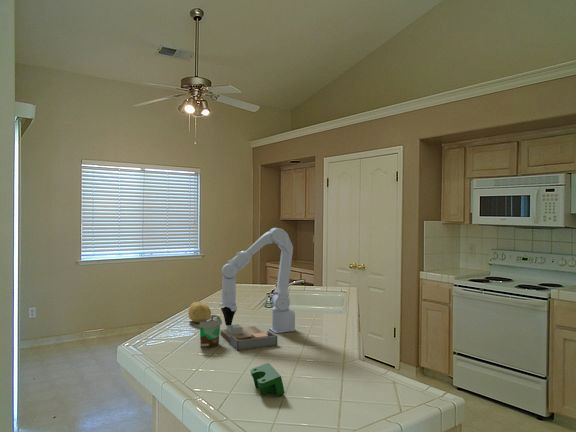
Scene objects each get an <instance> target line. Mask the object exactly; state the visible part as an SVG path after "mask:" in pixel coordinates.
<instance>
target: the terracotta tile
mask: <svg viewBox="0 0 576 432" xmlns="http://www.w3.org/2000/svg"><path fill="white" fill-rule="evenodd" d="M266 334H267V333H266ZM266 334H265V332H264V333H255V334H251V339H254V338H262V337H268V335H266Z"/></svg>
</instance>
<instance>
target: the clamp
mask: <svg viewBox="0 0 576 432" xmlns="http://www.w3.org/2000/svg"><path fill="white" fill-rule="evenodd" d="M250 375H251V377H252V379H253V383H254V384H253V385H254V388H255V389H256V388H257V389H258V390H259V393H260V395H259V396H261V395H263V396H265V395H267V394H269V393H274V394H275V396H277V397H280V396H283V395H285V393H286V392H285V387H284V384H283V379H282V376H281V374H280V373H279V372H278V371H277V370H276V369H275V368H274V367H273V366H272V364H270V362H265V363H263V364H260V365H259V366H256V367H253V368H251V369H250Z"/></svg>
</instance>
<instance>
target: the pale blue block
mask: <svg viewBox="0 0 576 432" xmlns="http://www.w3.org/2000/svg"><path fill="white" fill-rule="evenodd" d="M242 327H243V326H241V325H240V324H237V323H236V324H231V325H226V329H227V332H228V333H229V334H230V335H233V334H241V333H242Z"/></svg>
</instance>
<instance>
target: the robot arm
mask: <svg viewBox="0 0 576 432" xmlns="http://www.w3.org/2000/svg"><path fill="white" fill-rule="evenodd" d="M273 243H274V244H275V245H277V246H278V248H279V249H280V251H281V252H280V258H279V259H280V260H279V266H278V274H277V283H276V287H275V291H274V294H273V295H272V297H271V303H272V305H273V307H272V309H271V311H272V312H271V313H272V314H271V316H272V318H271V327H268V330H269V331H270V332H272V333H274V334H282V333H288V332H296V313H295V311H294V309H293V308H290V306H291V302H290V298H289V297H290V292H289V291H290V290H289V284H290V278H291V277H290V276H291V268H292V261H293V255H294V254H293V252H294V246H293V244H292V241H291V238H290V237H289V233H288V232H286V231H285V230H284V229H283V228H281V227H272V228H271V229H269V231H266V232H265V233H264V234H263V235H261V236H260V237H259V238H258V239H257V240H256V241H255V242H254V243H253V244H252V245H251V246H249V248H247V249H246V250H241V251H237V252H236V254H235V256H234V257H232V259H228V261H227V262H228V263H226V264H224V265H223V266H222V268H221V273H222V281H221V301H220V303H218V305H219V307H220V306H221V308H220V310H221V312H222V315H223V318H224V323H225V324H224V325H225V326H227V325H233V320H234V316H235V314H236V313H237V310H238V306H237V303H236V302H237V301H236V298H237V297H236V296H237V294H236V293H237V281H236V276H237V274H238V272H240V271H241V270H242V269H243V268H245V266H247V265H248V264H249V263H250V262H251V259H252V256H253V255H254V254H256V253H257V252H258V251H259V250H261V249H262V248H263V247H264V246H266V245H271V244H273Z"/></svg>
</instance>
